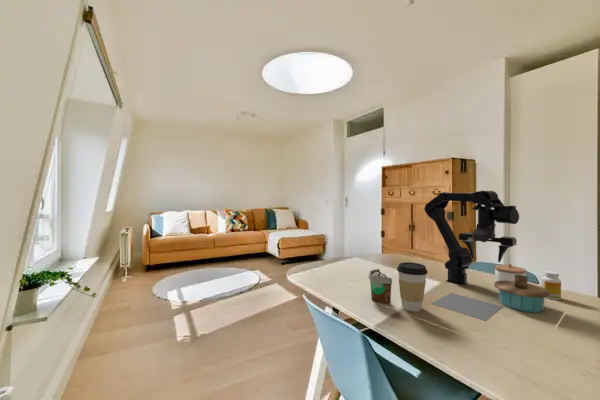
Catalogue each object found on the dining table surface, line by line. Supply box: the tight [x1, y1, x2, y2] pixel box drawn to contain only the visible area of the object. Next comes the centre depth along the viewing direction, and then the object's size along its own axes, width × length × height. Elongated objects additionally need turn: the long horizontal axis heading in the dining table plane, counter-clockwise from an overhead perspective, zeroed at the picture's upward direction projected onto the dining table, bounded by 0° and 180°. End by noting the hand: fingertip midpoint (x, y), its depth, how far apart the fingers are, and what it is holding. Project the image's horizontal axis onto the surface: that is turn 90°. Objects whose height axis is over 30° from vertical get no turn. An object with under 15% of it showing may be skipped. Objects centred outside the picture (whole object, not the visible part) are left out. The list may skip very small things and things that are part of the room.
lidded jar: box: [494, 263, 527, 281], centre depth 117 cm, size 11×11×9 cm
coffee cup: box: [396, 261, 429, 312], centre depth 93 cm, size 10×10×15 cm
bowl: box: [498, 289, 545, 313], centre depth 95 cm, size 12×12×6 cm
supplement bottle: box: [541, 270, 562, 301], centre depth 104 cm, size 5×5×10 cm
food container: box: [368, 268, 393, 305], centre depth 101 cm, size 12×6×10 cm, turn 5°
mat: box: [430, 292, 503, 322], centre depth 95 cm, size 17×17×1 cm
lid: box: [494, 275, 550, 298], centre depth 95 cm, size 15×15×5 cm
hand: (485, 259), depth 110 cm, fingers open, 9 cm apart
